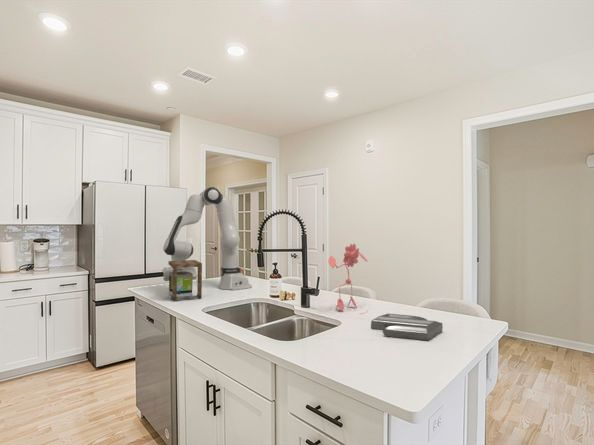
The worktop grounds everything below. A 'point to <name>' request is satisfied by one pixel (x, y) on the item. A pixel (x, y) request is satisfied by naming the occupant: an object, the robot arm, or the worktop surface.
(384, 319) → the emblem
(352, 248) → the pink flower figurine
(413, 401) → the worktop surface
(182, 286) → the tea box
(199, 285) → the walnut shelf
